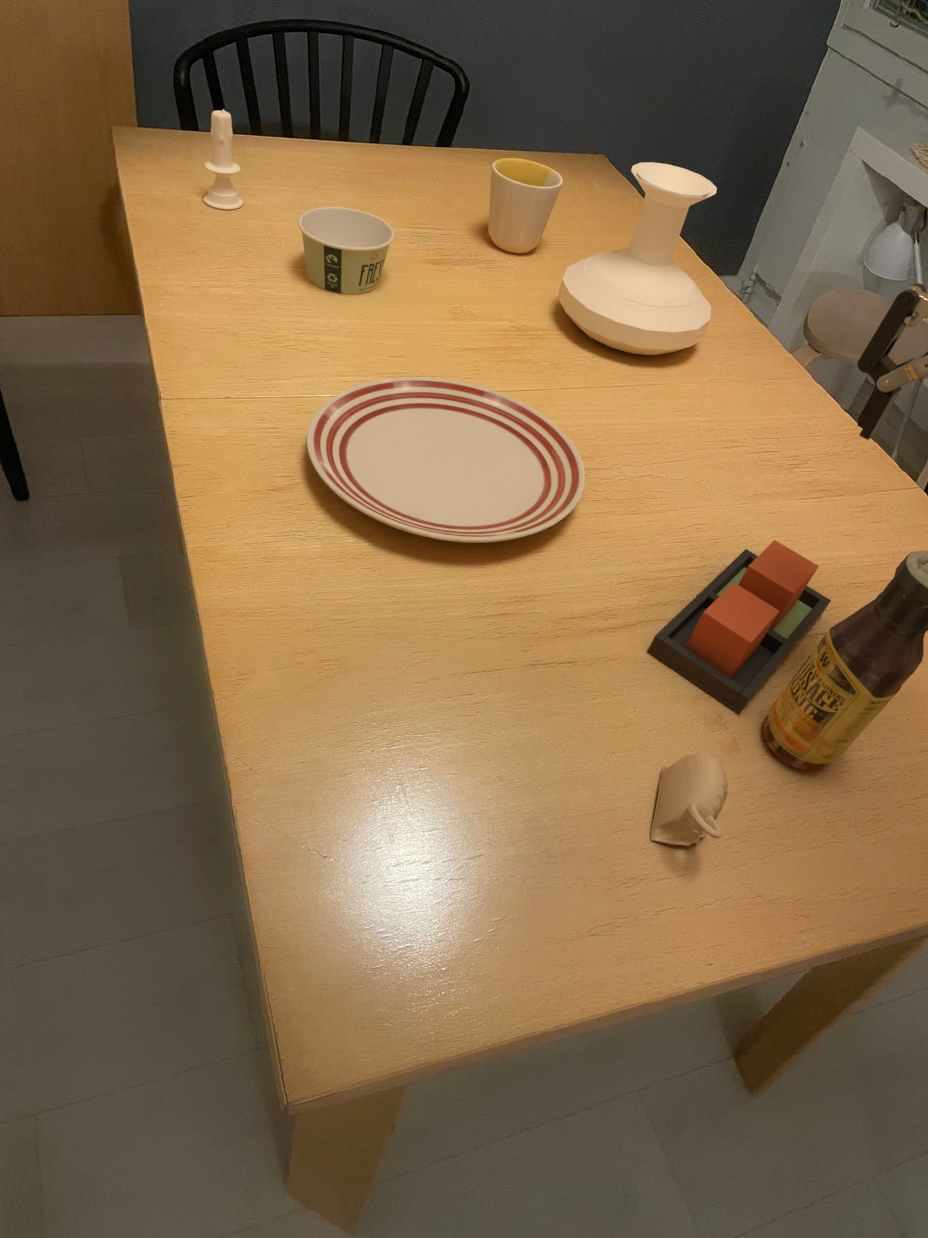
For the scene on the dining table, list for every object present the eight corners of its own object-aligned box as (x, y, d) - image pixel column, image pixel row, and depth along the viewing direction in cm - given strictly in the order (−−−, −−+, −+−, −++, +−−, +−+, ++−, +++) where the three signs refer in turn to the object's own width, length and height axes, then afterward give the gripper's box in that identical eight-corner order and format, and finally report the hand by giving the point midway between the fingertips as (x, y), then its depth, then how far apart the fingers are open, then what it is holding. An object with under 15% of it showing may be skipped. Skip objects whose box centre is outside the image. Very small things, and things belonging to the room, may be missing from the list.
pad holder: (821, 615, 82) (831, 600, 81) (738, 715, 72) (749, 699, 70) (737, 564, 86) (746, 548, 84) (647, 652, 75) (654, 635, 73)
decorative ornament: (714, 785, 66) (742, 743, 62) (700, 878, 60) (729, 839, 57) (663, 765, 67) (687, 723, 63) (643, 856, 61) (669, 815, 57)
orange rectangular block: (755, 650, 77) (780, 610, 73) (727, 682, 73) (751, 642, 70) (712, 622, 78) (733, 581, 75) (682, 652, 75) (703, 611, 71)
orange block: (794, 605, 81) (819, 565, 78) (769, 633, 78) (794, 593, 75) (752, 579, 83) (774, 539, 80) (726, 605, 80) (748, 565, 76)
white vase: (709, 381, 111) (773, 228, 97) (555, 354, 109) (598, 194, 95) (686, 308, 125) (739, 166, 111) (549, 283, 123) (586, 135, 109)
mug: (550, 265, 127) (568, 190, 120) (481, 255, 125) (495, 179, 118) (539, 226, 137) (555, 155, 129) (474, 216, 135) (487, 144, 128)
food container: (317, 247, 118) (320, 197, 113) (401, 272, 117) (407, 223, 113) (280, 281, 110) (282, 229, 105) (370, 308, 109) (376, 257, 104)
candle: (249, 200, 125) (248, 108, 116) (233, 213, 121) (232, 118, 113) (213, 190, 125) (210, 97, 117) (196, 203, 121) (192, 108, 113)
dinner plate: (310, 385, 95) (311, 357, 92) (554, 410, 100) (561, 384, 97) (299, 557, 76) (301, 527, 73) (601, 577, 81) (611, 550, 78)
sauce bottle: (747, 712, 72) (867, 528, 58) (816, 713, 73) (949, 534, 59) (775, 780, 68) (912, 598, 54) (848, 780, 69) (1000, 603, 55)
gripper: (931, 202, 52) (812, 434, 63) (1186, 298, 47) (1006, 533, 58) (967, 182, 57) (850, 402, 68) (1202, 268, 51) (1033, 491, 62)
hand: (922, 462), depth 63 cm, fingers open, 8 cm apart
